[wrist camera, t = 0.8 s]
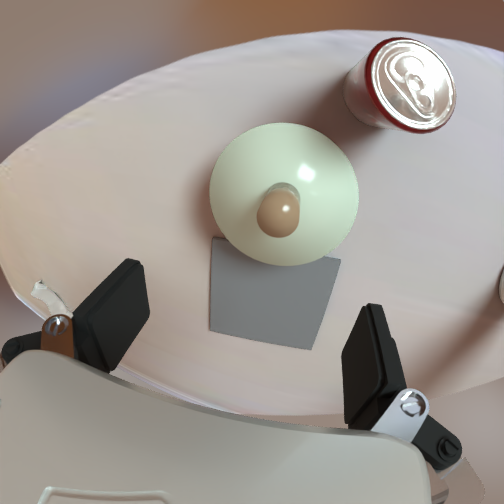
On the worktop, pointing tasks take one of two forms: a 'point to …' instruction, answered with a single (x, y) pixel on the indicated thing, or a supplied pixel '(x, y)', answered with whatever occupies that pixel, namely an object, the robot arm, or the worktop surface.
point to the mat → (268, 297)
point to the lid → (284, 194)
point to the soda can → (401, 87)
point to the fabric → (50, 299)
